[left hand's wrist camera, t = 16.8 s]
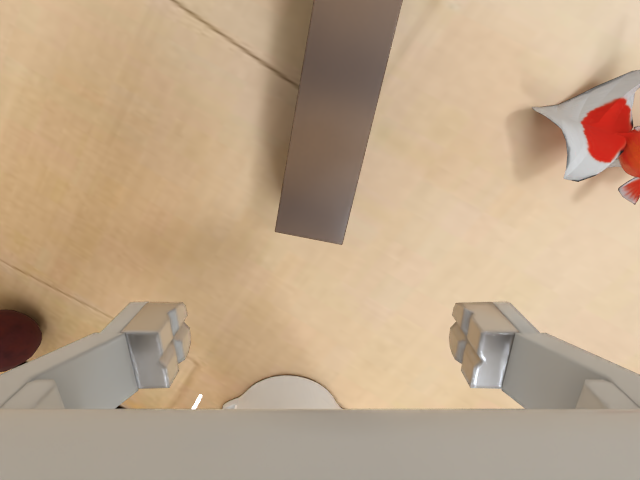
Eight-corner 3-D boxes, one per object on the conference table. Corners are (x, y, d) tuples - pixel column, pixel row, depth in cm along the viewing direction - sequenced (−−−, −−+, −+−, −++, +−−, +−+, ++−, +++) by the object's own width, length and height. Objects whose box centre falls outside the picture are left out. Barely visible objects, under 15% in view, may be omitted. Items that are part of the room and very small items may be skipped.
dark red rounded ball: (-14, 295, 42) (-76, 329, 36) (50, 301, 43) (1, 336, 36) (-1, 344, 45) (-56, 384, 38) (60, 349, 45) (15, 390, 39)
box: (337, 214, 39) (342, 245, 30) (284, 204, 38) (274, 232, 30) (408, -90, 29) (445, -174, 20) (339, -108, 29) (347, -203, 20)
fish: (614, 248, 35) (712, 227, 25) (487, 157, 38) (530, 107, 29) (678, 172, 36) (798, 123, 26) (548, 89, 39) (611, 17, 29)
